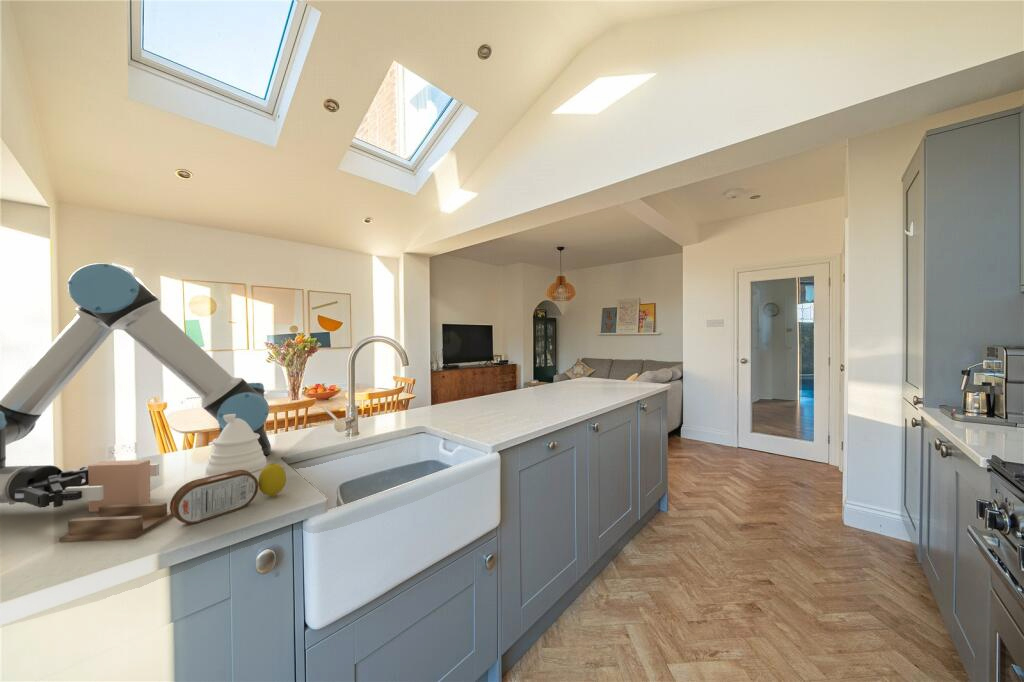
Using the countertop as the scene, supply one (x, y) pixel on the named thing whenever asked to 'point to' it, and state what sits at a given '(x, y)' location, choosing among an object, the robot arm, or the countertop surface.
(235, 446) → the honey pot
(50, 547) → the countertop surface
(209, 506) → the tin
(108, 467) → the tan square block
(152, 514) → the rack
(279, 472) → the lemon
